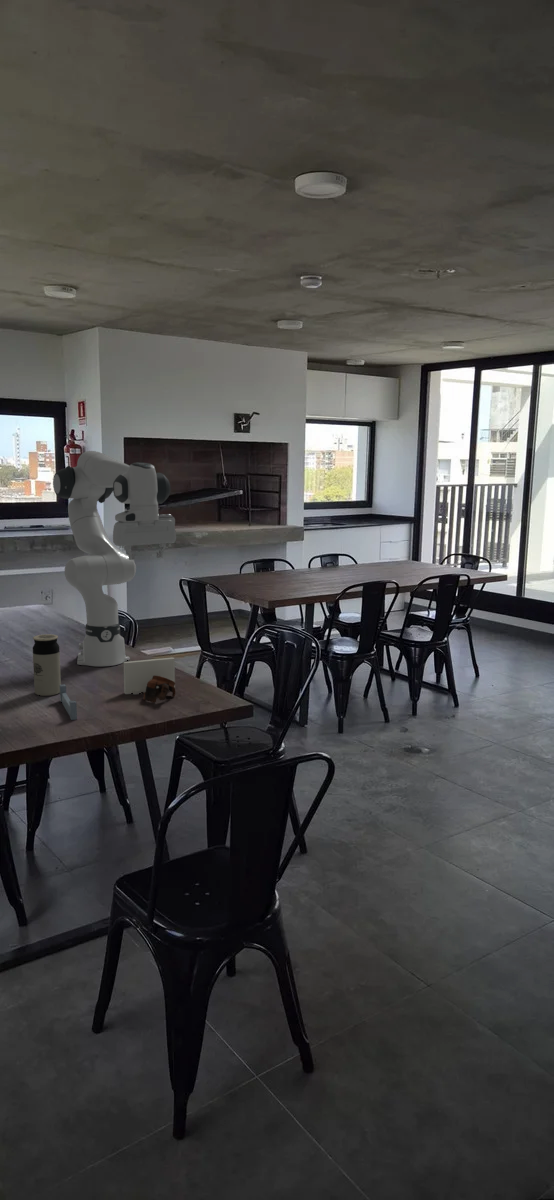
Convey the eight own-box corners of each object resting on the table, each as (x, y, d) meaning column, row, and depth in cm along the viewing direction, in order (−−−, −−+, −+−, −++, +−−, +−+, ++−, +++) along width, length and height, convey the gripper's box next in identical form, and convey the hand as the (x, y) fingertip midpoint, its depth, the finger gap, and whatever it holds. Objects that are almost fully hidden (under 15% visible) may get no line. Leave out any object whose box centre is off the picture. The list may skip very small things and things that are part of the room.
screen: (123, 692, 253) (122, 661, 252) (172, 686, 260) (172, 656, 258) (126, 695, 250) (125, 664, 248) (176, 689, 256) (175, 659, 254)
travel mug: (54, 687, 257) (52, 632, 254) (65, 693, 251) (63, 637, 248) (30, 692, 252) (27, 636, 249) (41, 698, 246) (38, 640, 243)
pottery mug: (137, 699, 248) (146, 673, 250) (164, 709, 252) (173, 684, 254) (149, 699, 237) (159, 672, 239) (177, 709, 241) (186, 683, 243)
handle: (60, 700, 244) (59, 684, 243) (65, 700, 244) (64, 684, 243) (71, 720, 226) (70, 703, 225) (77, 719, 226) (76, 702, 225)
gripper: (170, 513, 260) (171, 555, 263) (110, 515, 250) (111, 559, 252) (178, 514, 255) (180, 557, 257) (117, 516, 245) (119, 561, 247)
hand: (145, 558), depth 255 cm, fingers open, 8 cm apart
